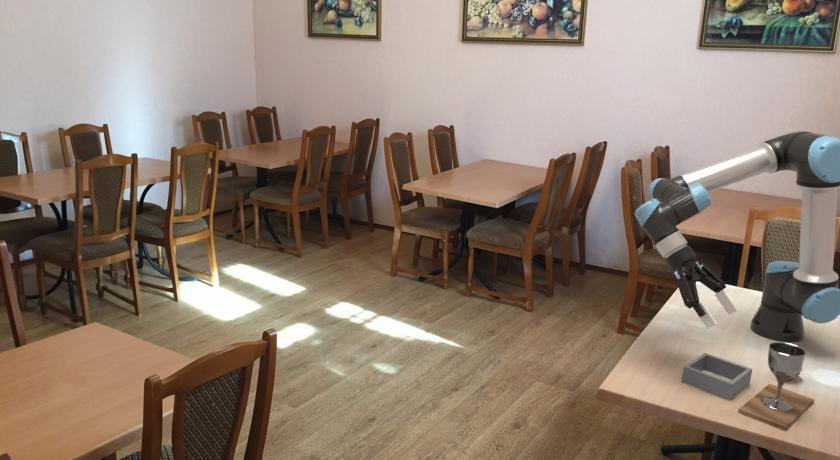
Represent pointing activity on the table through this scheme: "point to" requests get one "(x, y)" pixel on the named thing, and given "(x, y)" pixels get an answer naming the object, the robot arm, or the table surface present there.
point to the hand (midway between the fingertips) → (723, 319)
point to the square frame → (712, 383)
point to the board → (772, 416)
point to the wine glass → (783, 370)
